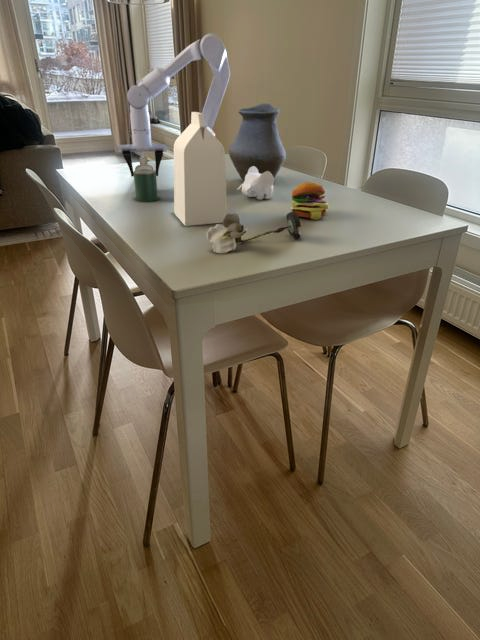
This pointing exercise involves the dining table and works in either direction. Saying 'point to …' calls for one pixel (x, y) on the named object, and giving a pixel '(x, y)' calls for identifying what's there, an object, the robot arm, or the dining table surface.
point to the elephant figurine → (258, 184)
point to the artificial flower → (243, 232)
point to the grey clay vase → (258, 141)
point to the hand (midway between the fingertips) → (144, 175)
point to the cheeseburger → (309, 201)
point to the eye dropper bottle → (143, 163)
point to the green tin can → (145, 185)
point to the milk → (199, 175)
